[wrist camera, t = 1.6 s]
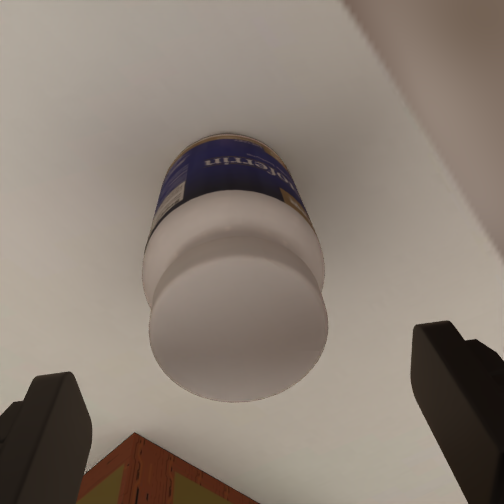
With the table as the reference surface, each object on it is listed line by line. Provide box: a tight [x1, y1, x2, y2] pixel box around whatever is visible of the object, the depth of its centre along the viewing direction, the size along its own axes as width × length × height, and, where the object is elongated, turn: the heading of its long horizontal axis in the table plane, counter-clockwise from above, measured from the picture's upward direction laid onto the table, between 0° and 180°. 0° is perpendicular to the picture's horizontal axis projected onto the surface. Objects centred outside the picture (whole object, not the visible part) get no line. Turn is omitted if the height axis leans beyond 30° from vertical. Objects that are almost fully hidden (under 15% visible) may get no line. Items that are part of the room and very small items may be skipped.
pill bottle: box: [142, 134, 328, 402], centre depth 17 cm, size 6×6×10 cm
